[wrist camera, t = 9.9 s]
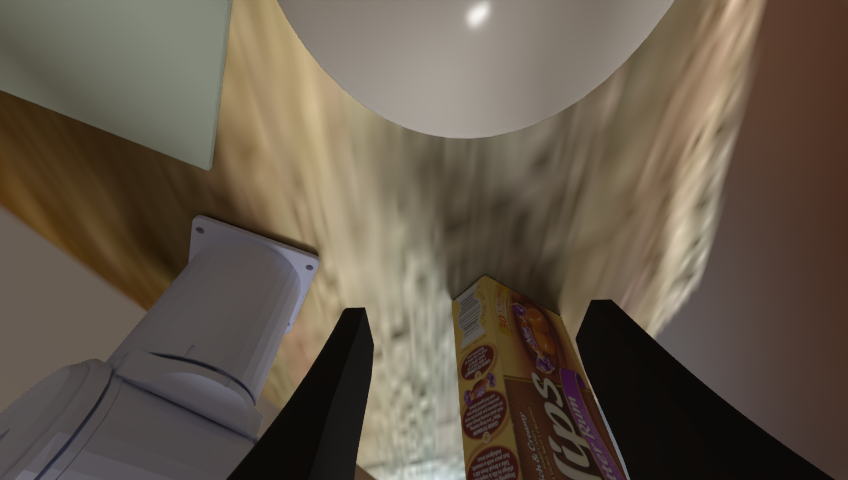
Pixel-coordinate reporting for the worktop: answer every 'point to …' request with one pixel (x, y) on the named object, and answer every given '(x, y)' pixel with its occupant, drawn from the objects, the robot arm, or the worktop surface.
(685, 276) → the worktop surface
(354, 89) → the lid
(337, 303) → the worktop surface
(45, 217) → the worktop surface
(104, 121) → the mat
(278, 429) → the robot arm
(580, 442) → the candy box
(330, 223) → the worktop surface
